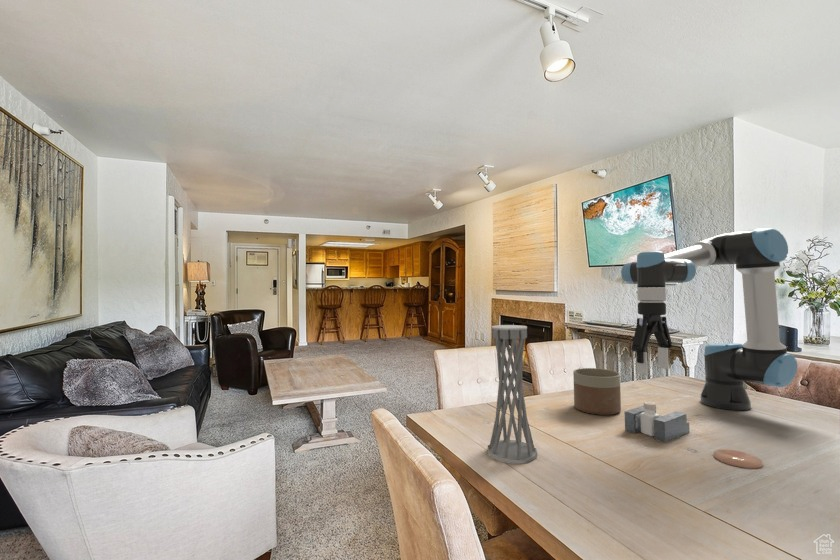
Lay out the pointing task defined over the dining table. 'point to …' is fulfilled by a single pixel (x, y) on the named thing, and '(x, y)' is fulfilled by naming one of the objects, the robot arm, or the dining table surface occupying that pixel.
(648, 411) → the pepper shaker
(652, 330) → the robot arm
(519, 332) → the grey tall lattice tower
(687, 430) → the vise
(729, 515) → the dining table surface
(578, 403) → the planter
